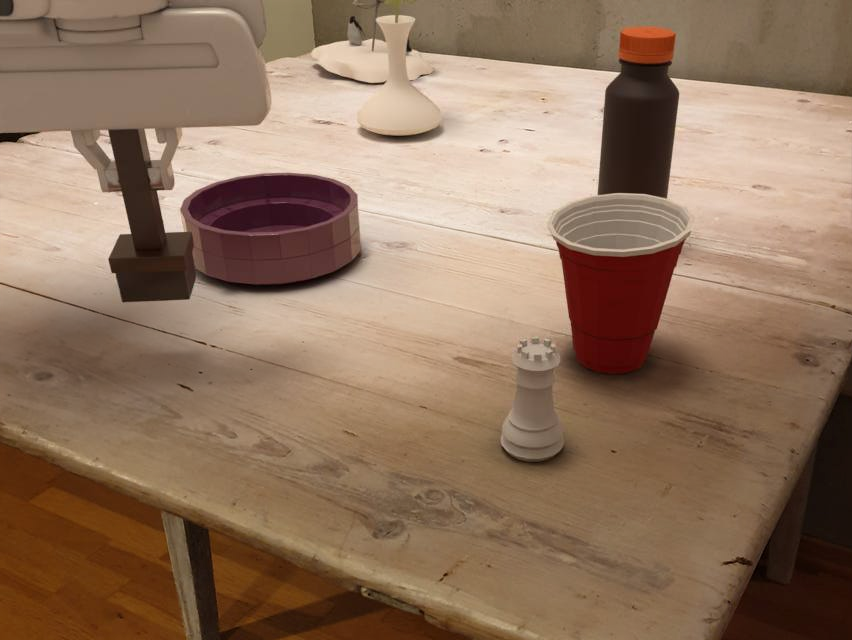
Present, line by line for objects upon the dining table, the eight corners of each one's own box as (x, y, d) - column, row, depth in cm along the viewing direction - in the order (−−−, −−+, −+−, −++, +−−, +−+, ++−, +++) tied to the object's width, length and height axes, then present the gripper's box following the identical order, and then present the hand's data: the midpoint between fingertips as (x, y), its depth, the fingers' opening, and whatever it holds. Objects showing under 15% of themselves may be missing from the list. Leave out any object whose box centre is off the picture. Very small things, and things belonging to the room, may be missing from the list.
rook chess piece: (576, 450, 67) (584, 349, 63) (526, 472, 65) (530, 369, 61) (537, 421, 70) (541, 323, 66) (487, 441, 68) (488, 341, 64)
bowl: (178, 295, 87) (167, 238, 84) (202, 227, 101) (193, 175, 97) (361, 288, 89) (357, 231, 86) (360, 221, 102) (357, 170, 99)
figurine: (285, 61, 155) (282, -51, 145) (367, 44, 167) (369, -60, 157) (373, 97, 146) (376, -21, 136) (453, 76, 157) (462, -33, 147)
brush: (118, 304, 72) (77, 135, 65) (129, 278, 76) (92, 114, 68) (192, 301, 73) (160, 132, 65) (199, 275, 76) (170, 112, 69)
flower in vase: (410, 148, 122) (402, -75, 108) (339, 134, 127) (323, -82, 113) (465, 123, 132) (465, -86, 117) (397, 110, 136) (389, -91, 122)
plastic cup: (522, 336, 81) (526, 198, 74) (638, 318, 84) (653, 183, 77) (571, 401, 73) (581, 252, 66) (699, 379, 75) (722, 233, 69)
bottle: (675, 243, 98) (701, 32, 86) (633, 262, 94) (655, 43, 82) (622, 225, 102) (641, 21, 90) (580, 242, 98) (594, 31, 86)
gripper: (264, -33, 65) (287, 169, 73) (-52, -28, 64) (7, 178, 71) (256, -17, 60) (282, 199, 68) (-88, -11, 58) (-20, 209, 66)
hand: (138, 189), depth 70 cm, fingers closed on brush, 2 cm apart
